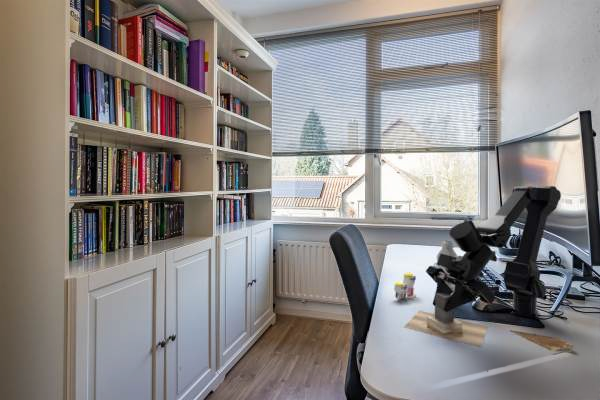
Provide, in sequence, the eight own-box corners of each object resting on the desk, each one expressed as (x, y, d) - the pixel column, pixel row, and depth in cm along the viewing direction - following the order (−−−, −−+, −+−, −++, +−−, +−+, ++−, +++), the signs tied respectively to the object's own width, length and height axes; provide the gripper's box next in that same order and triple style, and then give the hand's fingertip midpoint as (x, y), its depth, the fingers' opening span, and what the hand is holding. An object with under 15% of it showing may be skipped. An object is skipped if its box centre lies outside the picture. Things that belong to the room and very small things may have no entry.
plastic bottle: (462, 303, 104) (463, 242, 103) (446, 306, 102) (447, 244, 101) (446, 297, 110) (447, 239, 109) (431, 299, 108) (432, 240, 107)
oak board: (419, 313, 96) (419, 310, 96) (488, 328, 85) (488, 326, 85) (403, 330, 85) (403, 327, 85) (480, 350, 74) (480, 347, 74)
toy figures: (403, 304, 103) (403, 279, 103) (391, 301, 107) (391, 276, 106) (420, 295, 112) (420, 272, 111) (408, 292, 115) (408, 270, 115)
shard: (509, 335, 83) (509, 328, 83) (532, 332, 85) (532, 325, 85) (552, 357, 72) (552, 349, 72) (577, 352, 74) (577, 344, 74)
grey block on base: (444, 322, 88) (445, 290, 87) (462, 331, 82) (462, 297, 82) (426, 325, 86) (427, 292, 86) (443, 335, 80) (443, 299, 80)
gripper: (431, 237, 93) (398, 278, 90) (487, 249, 75) (449, 301, 72) (452, 262, 96) (421, 303, 93) (511, 279, 78) (475, 330, 75)
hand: (439, 308), depth 83 cm, fingers closed on grey block on base, 3 cm apart
